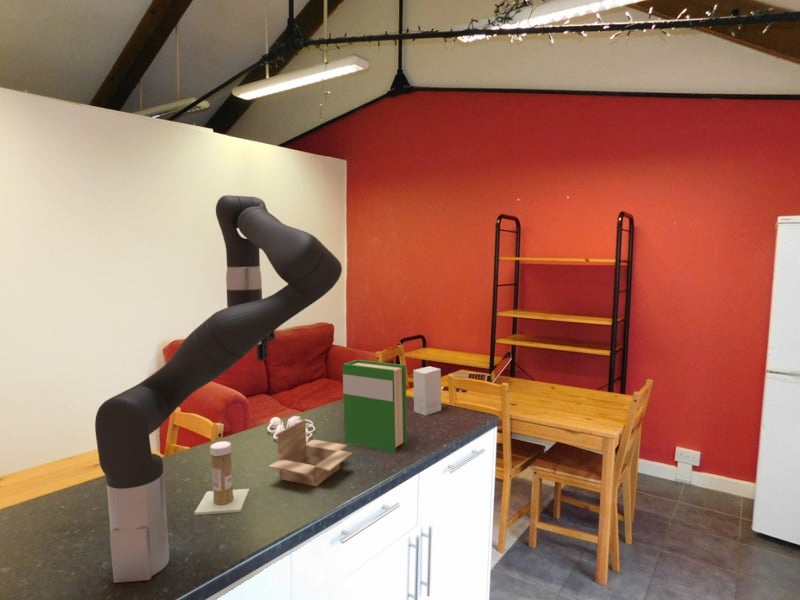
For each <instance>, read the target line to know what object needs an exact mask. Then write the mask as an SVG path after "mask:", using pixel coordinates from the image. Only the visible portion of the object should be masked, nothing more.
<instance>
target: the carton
mask: <svg viewBox="0 0 800 600" xmlns="http://www.w3.org/2000/svg"><path fill="white" fill-rule="evenodd" d="M301 420H302V421H300V422H298V423H296V424H294V425H292V426H290V427H289V426H288V427H287V429H286V428H285V430H283V431H281V432H279V433H278V435H277V437H278V439H277V451H278V460H276V461H274V462H273V463H271V464H269V465H268V468H269V469H273V470H274V469H275V470H278V474H279V479H280V480H283V481H289V482H293V483H299V484H303V485H308V486H312V487H318V486H319V485H320V484H322V482H324V481H326V480H327V479H328V478H329V477H331V476H332V475H333V474H335V473H336V472H337V471H338V470H340V469H341V463H342V462H344V461H346V459H348V458H349V457H350V456H351V455H353V452H352V451H345V450H344V449H345V448H347V447H348V444H344V443H343V444H342V443H338V442H337V443H336V442H332V441H331V442H330V441H325V440H319V439H311V440H308V442H307V443H306V436H307V435H306V428H307V427H306V426H307V425H306V424H307V423H306V421H305V420H306V419H301ZM308 463H309V464H308ZM313 464H314V465H313Z"/></svg>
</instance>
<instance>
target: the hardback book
mask: <svg viewBox="0 0 800 600" xmlns="http://www.w3.org/2000/svg"><path fill="white" fill-rule="evenodd" d="M406 366H407V365H406V364H398V363H390V362H389V363H388V362H381V361H373V360H363V359H354V360H352V361H349V362H346V363H345V362H344V363H343V364H342V385H343V386H342V389H343V417H344V418H343V420H344V423H343V424H344V425H343V426H344V442H345V443H350V444H354V445H357V446H358V445H359V446H361V447H362V446H363V447H367V448H372V449H377V450H381V451H386V452H390V453H395V452H396V451H397V448H398V446H400V445H403V446H406V445H408V432H407V431H408V426H407V425H408V423H407V421H408V419H407V418H408V417H407V416H408V415H407V378H406V377H407V376H406V375H407V371H406V370H407V369H406Z"/></svg>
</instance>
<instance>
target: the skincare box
mask: <svg viewBox="0 0 800 600" xmlns="http://www.w3.org/2000/svg"><path fill="white" fill-rule="evenodd" d="M441 371H442V369H441V368H439V367H433V366H430V365H429V366H426V367H420V368H416V369H413V372H412V375H413V412H414V413H417V414H419V415H423V416H429V415H431V414H435V413H438V412H441V411H442V381H441V380H442V379H441V378H442V376H441V375H442V374H441Z"/></svg>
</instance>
